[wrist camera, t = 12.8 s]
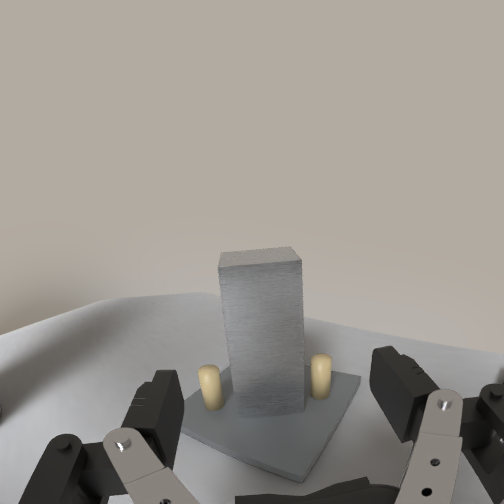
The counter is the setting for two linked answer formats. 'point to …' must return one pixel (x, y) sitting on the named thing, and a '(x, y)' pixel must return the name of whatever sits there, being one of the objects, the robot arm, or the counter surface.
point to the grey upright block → (264, 330)
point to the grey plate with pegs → (271, 420)
